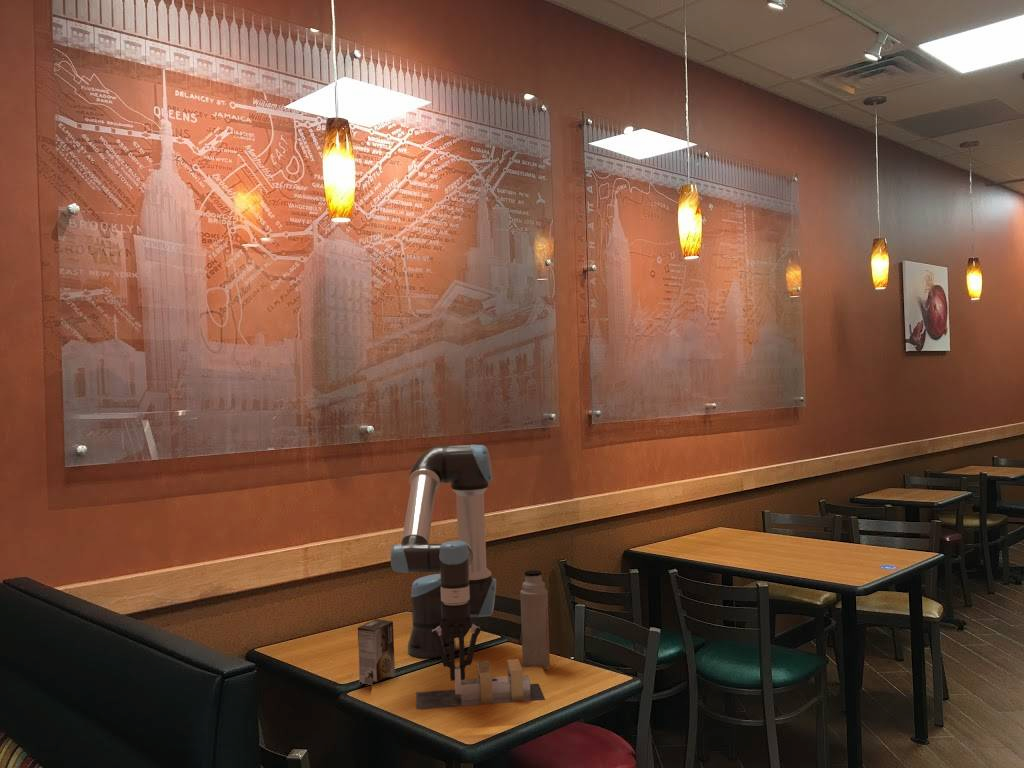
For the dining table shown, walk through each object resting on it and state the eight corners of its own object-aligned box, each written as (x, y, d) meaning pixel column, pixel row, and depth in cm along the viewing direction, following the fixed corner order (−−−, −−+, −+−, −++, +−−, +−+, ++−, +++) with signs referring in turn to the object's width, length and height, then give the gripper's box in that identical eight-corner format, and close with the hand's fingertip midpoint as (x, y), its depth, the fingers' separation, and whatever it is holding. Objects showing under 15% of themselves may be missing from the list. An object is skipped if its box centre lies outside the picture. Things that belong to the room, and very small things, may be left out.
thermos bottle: (551, 662, 248) (548, 568, 248) (547, 672, 240) (544, 574, 240) (525, 662, 249) (522, 568, 249) (520, 671, 241) (517, 574, 242)
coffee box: (377, 674, 243) (375, 618, 243) (395, 676, 240) (394, 620, 240) (358, 684, 234) (356, 627, 235) (377, 687, 232) (375, 629, 232)
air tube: (460, 694, 220) (460, 679, 220) (528, 690, 222) (527, 674, 222) (461, 700, 216) (460, 684, 216) (530, 695, 218) (529, 679, 218)
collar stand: (416, 698, 223) (415, 664, 223) (538, 689, 226) (537, 655, 226) (416, 715, 211) (415, 679, 211) (545, 705, 215) (544, 670, 215)
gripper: (430, 606, 214) (433, 699, 213) (481, 604, 215) (484, 695, 215) (430, 599, 221) (432, 688, 221) (479, 596, 223) (481, 685, 222)
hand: (458, 692), depth 218 cm, fingers closed
